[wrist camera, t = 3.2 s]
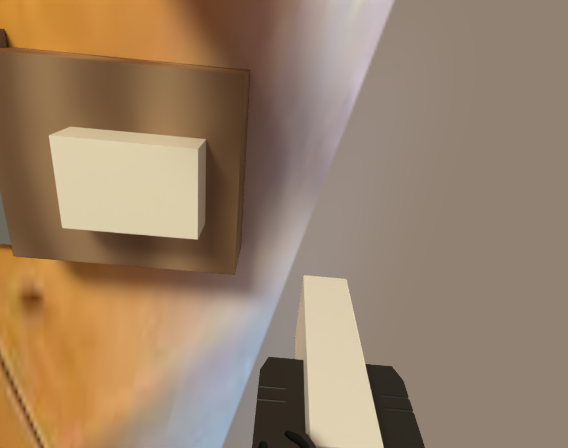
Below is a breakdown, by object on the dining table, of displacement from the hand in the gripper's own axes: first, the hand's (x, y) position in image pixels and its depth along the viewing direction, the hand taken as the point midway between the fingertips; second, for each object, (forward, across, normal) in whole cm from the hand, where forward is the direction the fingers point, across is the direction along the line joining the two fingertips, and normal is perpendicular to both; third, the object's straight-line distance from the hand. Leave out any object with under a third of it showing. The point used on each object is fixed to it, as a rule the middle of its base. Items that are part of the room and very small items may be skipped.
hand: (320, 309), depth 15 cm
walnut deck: (+16, -12, 0) cm, 20 cm away
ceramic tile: (+12, -10, 0) cm, 16 cm away
